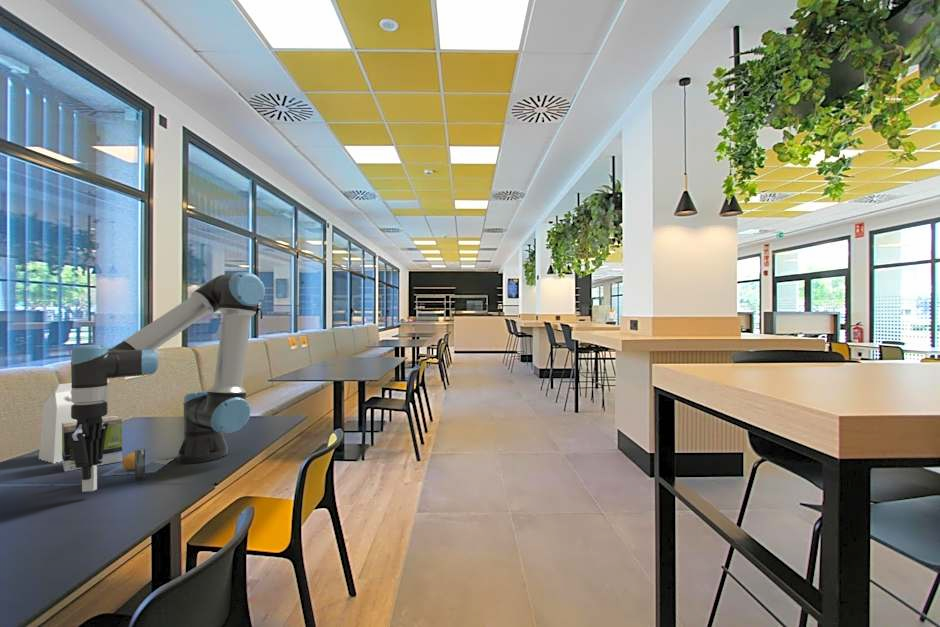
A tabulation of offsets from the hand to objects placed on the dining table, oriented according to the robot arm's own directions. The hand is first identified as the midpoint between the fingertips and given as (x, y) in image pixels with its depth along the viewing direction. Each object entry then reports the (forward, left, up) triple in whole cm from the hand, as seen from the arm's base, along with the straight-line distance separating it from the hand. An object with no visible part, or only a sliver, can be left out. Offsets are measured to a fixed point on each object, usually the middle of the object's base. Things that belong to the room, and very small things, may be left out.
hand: (89, 490), depth 121 cm
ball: (+1, -24, +1) cm, 24 cm away
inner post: (-6, -13, -2) cm, 14 cm away
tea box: (+18, -35, -2) cm, 39 cm away
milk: (+32, -47, -2) cm, 57 cm away
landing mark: (0, -27, -2) cm, 27 cm away
